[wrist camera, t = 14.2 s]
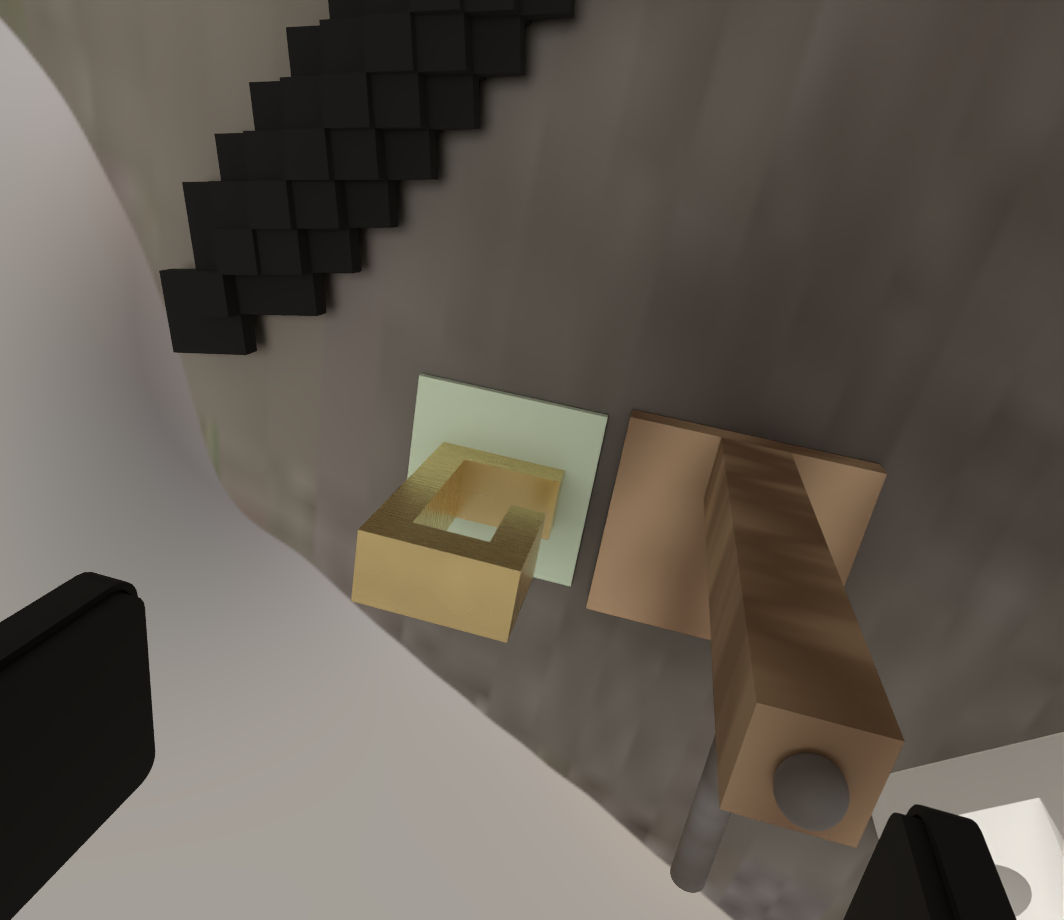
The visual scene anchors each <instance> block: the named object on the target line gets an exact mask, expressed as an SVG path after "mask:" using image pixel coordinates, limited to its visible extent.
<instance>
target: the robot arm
mask: <svg viewBox="0 0 1064 920" xmlns="http://www.w3.org/2000/svg"><path fill="white" fill-rule="evenodd" d="M152 715H153V714H152V700H151V686H150V672H149V658H148V644H147V630H146V617H145V606H144V602H143V601H142V600H141V598H138V595H137V591H136V589H135V587H134V586H133V585H132V584H130V583H128V582H125V581H122V580H118V579H114V578H111V577H107V576H104V575H100V574H97V573H93V572H84V573H82V574H79V575H77V576H75V577H74V578H72V579H71V580H69V581H67V582H65V583H64V584H62V585H61V586H59V587H57V588H56V589H54V590H52V591H51V592H49V593H47V594H46V595H44V596H43V597H41V598H39V599H38V600H36V601H34V602H33V603H31V604H29V605H28V606H26V607H25V608H23V609H21V610H20V611H18V612H17V613H15V614H13V615H12V616H10V617H8V618H7V619H5V620H3V621H2V622H0V920H11V919H12V918H13V917H14V916H15V915H16V914H17V913H18V911H19V910H20V909H21V908H22V907H23V906H24V905H25V904H26V903H27V902H28V901H29V900H30V899H31V898H32V897H33V896H34V895H35V894H36V893H37V892H38V891H39V890H40V889H41V888H42V887H43V886H44V884H45V883H46V882H47V881H48V880H49V879H50V878H51V877H52V876H53V875H54V874H55V873H56V872H57V871H58V870H59V869H60V868H61V867H62V866H63V865H64V864H65V862H67V861H68V860H69V858H70V857H71V856H72V855H73V854H74V853H75V852H76V851H77V850H78V849H79V848H80V847H81V846H82V845H83V844H84V843H85V842H86V841H87V840H88V839H89V838H90V837H91V836H92V834H94V833H95V831H96V830H97V829H98V828H99V827H100V826H101V825H102V824H103V823H104V822H105V821H106V820H107V819H108V818H109V817H110V816H111V815H112V814H113V813H114V812H115V811H116V810H117V809H118V808H119V806H120V805H121V804H122V803H123V802H124V801H125V800H126V799H127V798H128V797H129V796H130V795H131V794H132V793H133V792H134V791H135V790H136V789H137V788H138V787H139V786H140V785H141V784H142V782H143V781H144V780H145V779H146V777H147V775H148V774H149V772H150V770H151V768H152V765H153V762H154V758H155V743H154V729H153V716H152ZM844 920H1017V919H1016V917H1015V914H1014V912H1013V909H1012V907H1011V904H1010V902H1009V899H1008V897H1007V894H1006V892H1005V889H1004V887H1003V884H1002V881H1001V879H1000V876H999V874H998V871H997V869H996V866H995V864H994V861H993V859H992V856H991V854H990V851H989V849H988V846H987V844H986V841H985V839H984V836H983V834H982V831H981V830H980V828H979V826H978V824H977V823H976V822H975V821H973V820H972V819H970V818H966V817H962V816H959V815H955V814H952V813H948V812H945V811H941V810H937V809H934V808H930V807H927V806H923V805H919V804H915V805H913V806H912V807H911V808H910V809H909V810H908V812H907V814H906V815H904V814H900V813H895V812H894V813H893V814H892V815H891V816H890V817H889V819H888V821H887V823H886V825H885V827H884V830H883V832H882V834H881V836H880V839H879V841H878V843H877V845H876V848H875V850H874V852H873V854H872V857H871V859H870V861H869V863H868V866H867V868H866V870H865V872H864V875H863V877H862V879H861V881H860V884H859V886H858V888H857V890H856V893H855V895H854V897H853V899H852V902H851V904H850V906H849V908H848V911H847V913H846V915H845V917H844Z"/></svg>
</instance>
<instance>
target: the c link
mask: <svg viewBox="0 0 1064 920" xmlns="http://www.w3.org/2000/svg"><path fill="white" fill-rule="evenodd" d="M564 473H565V470H560V469H556V468H552V467H548V466H544V465H539V464H535V463H531V462H527V461H523V460H518V459H514V458H510V457H506V456H502V455H497V454H493V453H489V452H485V451H480V450H476V449H472V448H468V447H464V446H459V445H455V444H451V443H447V442H443V443H442V444H441V445H440V446H439V447H438V448H437V449H436V450H435V451H434V452H433V453H432V454H431V455H430V456H429V457H428V458H427V459H426V460H425V461H424V462H423V463H422V465H421V466H420V467H419V468H418V469H417V470H416V471H415V472H414V473H413V474H412V475H411V476H410V477H409V478H408V479H407V480H406V481H405V482H404V483H403V484H402V485H401V486H400V487H399V488H398V489H397V490H396V491H395V492H394V493H393V494H392V495H391V496H390V497H389V499H388V500H387V501H386V502H385V503H384V504H383V505H382V506H381V507H380V508H379V509H378V510H377V511H376V512H375V513H374V514H373V515H372V516H371V517H370V518H369V519H368V520H367V521H366V522H365V523H364V524H363V525H362V526H361V527H360V528H359V529H358V537H357V547H356V557H355V568H354V578H353V589H352V599H351V601H354V602H357V603H361V604H365V605H368V606H372V607H376V608H380V609H383V610H387V611H391V612H394V613H398V614H402V615H406V616H409V617H413V618H417V619H421V620H424V621H428V622H432V623H435V624H439V625H443V626H447V627H450V628H454V629H458V630H461V631H465V632H469V633H473V634H476V635H480V636H484V637H487V638H491V639H495V640H499V641H502V642H506V643H507V642H508V639H509V637H510V634H511V632H512V629H513V627H514V624H515V621H516V619H517V616H518V614H519V611H520V609H521V606H522V604H523V601H524V599H525V596H526V594H527V591H528V589H529V586H530V584H531V581H532V579H533V576H534V572H535V567H536V562H537V557H538V552H539V547H540V542H541V539H545V540H548V539H549V536H550V534H551V531H552V529H553V526H554V521H555V516H556V512H557V507H558V502H559V497H560V492H561V487H562V482H563V478H564ZM456 517H457V518H461V519H465V520H469V521H473V522H477V523H481V524H485V525H489V526H493V527H497V530H496V532H495V534H494V535H493V537H492V539H491V541H490V542H488V541H484V540H480V539H476V538H472V537H468V536H464V535H460V534H456V533H452V532H448V531H447V529H448V528H449V526H450V525H451V524H452V522H453V521H454V519H455V518H456Z"/></svg>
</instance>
